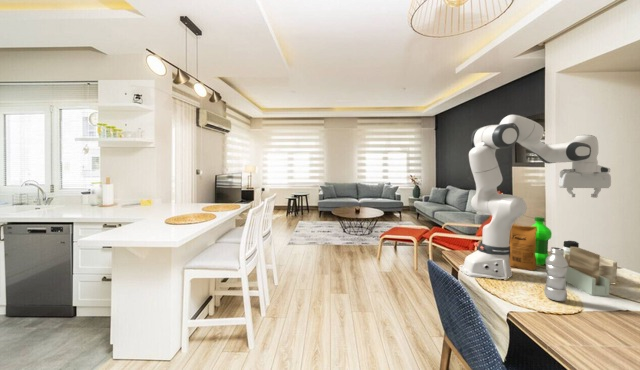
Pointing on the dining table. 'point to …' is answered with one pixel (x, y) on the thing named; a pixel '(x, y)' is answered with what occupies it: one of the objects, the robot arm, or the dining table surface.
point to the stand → (588, 282)
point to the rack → (604, 268)
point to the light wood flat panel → (585, 262)
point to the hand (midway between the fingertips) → (583, 197)
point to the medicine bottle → (569, 245)
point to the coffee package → (523, 247)
